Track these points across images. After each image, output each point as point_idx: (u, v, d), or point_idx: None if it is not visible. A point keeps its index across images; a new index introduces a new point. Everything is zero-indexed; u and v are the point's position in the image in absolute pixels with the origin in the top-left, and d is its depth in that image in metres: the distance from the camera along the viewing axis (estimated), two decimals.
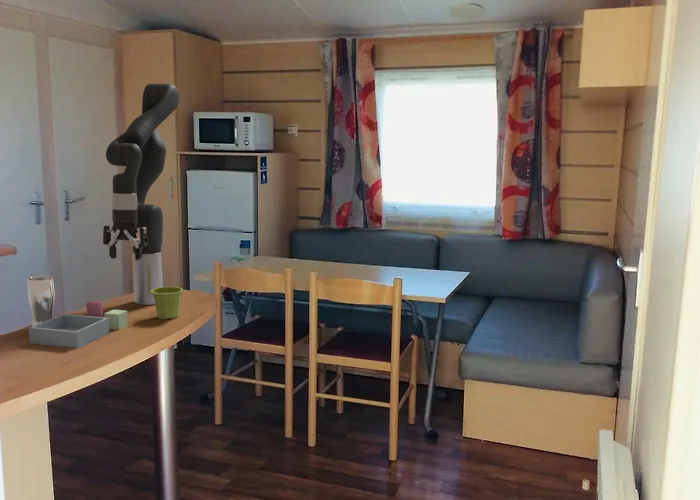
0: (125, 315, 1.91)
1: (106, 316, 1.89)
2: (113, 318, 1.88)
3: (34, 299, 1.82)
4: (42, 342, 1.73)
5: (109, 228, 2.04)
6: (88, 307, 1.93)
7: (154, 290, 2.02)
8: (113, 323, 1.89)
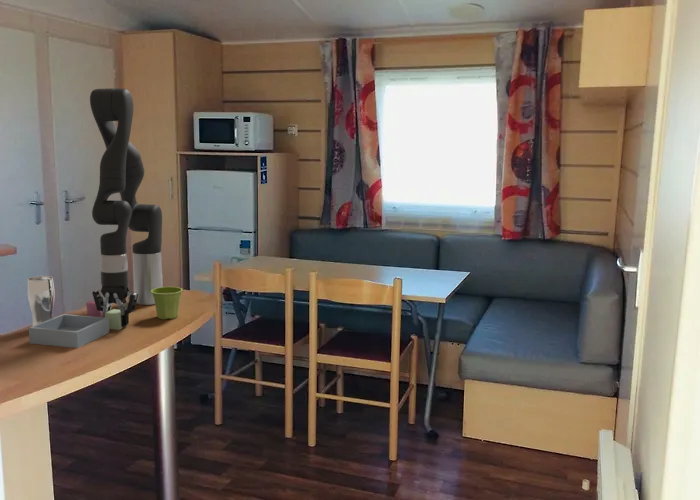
0: None
1: (106, 316, 1.89)
2: (113, 318, 1.88)
3: (34, 299, 1.82)
4: (42, 342, 1.73)
5: (98, 292, 1.90)
6: (88, 307, 1.93)
7: (154, 290, 2.02)
8: (113, 323, 1.89)
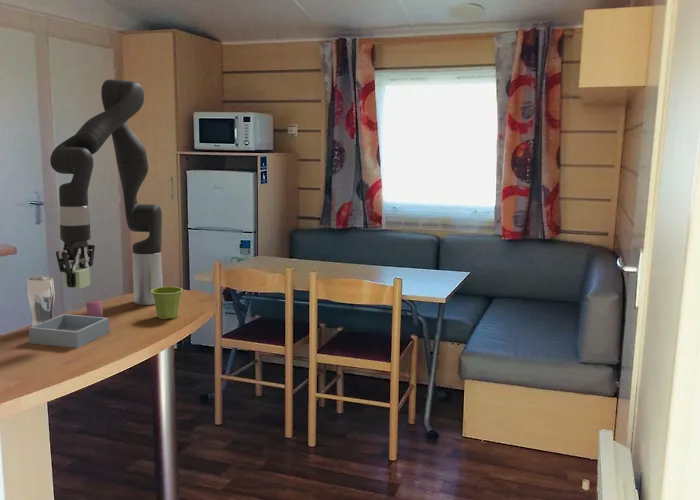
0: (75, 275, 1.73)
1: None
2: None
3: (34, 299, 1.82)
4: (42, 342, 1.73)
5: None
6: (88, 307, 1.93)
7: (154, 290, 2.02)
8: None
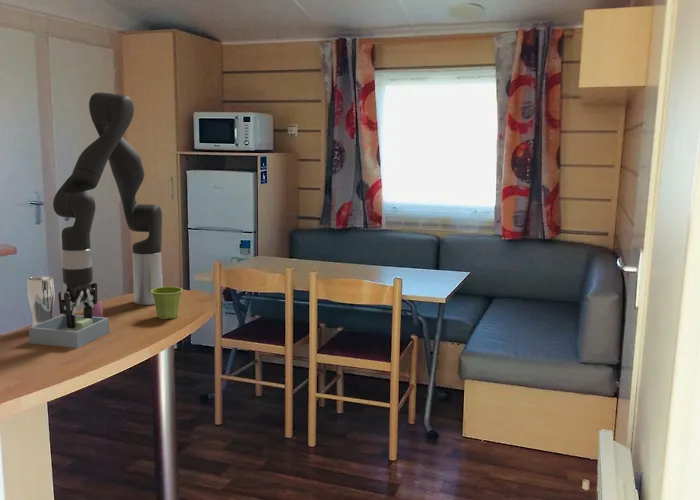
0: (79, 327, 1.76)
1: None
2: None
3: (34, 299, 1.82)
4: (42, 342, 1.73)
5: None
6: None
7: (154, 290, 2.02)
8: None
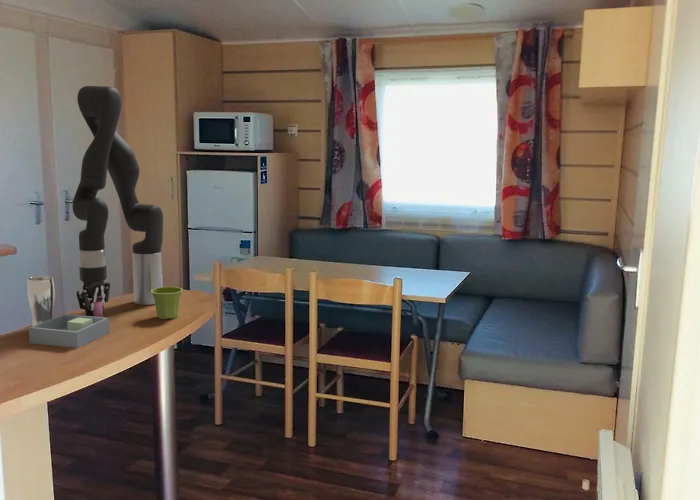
0: (79, 327, 1.76)
1: None
2: None
3: (34, 299, 1.82)
4: (42, 342, 1.73)
5: None
6: None
7: (154, 290, 2.02)
8: None
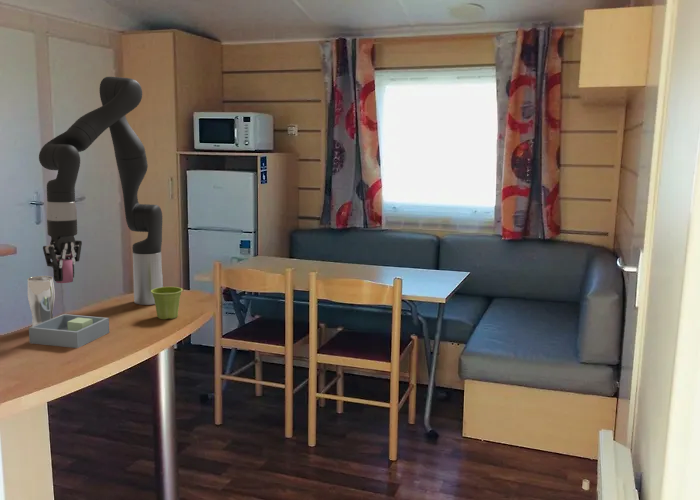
0: (79, 327, 1.76)
1: None
2: None
3: (34, 299, 1.82)
4: (42, 342, 1.73)
5: None
6: None
7: (154, 290, 2.02)
8: None
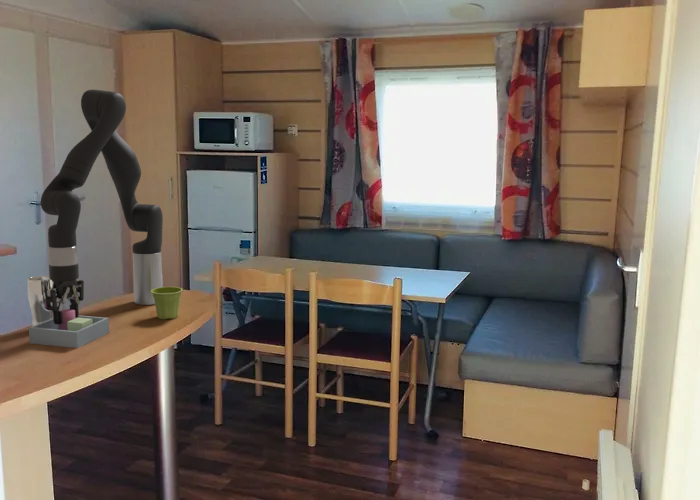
0: (79, 327, 1.76)
1: None
2: None
3: (34, 299, 1.82)
4: (42, 342, 1.73)
5: None
6: None
7: (154, 290, 2.02)
8: None
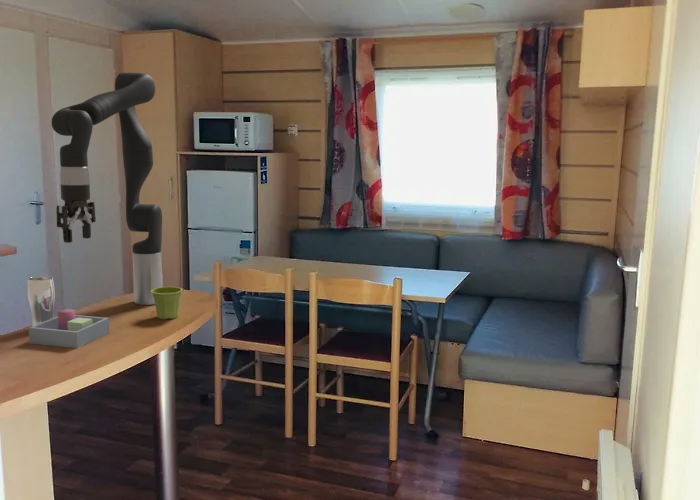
0: (79, 327, 1.76)
1: None
2: None
3: (34, 299, 1.82)
4: (42, 342, 1.73)
5: None
6: (59, 316, 1.80)
7: (154, 290, 2.02)
8: None
